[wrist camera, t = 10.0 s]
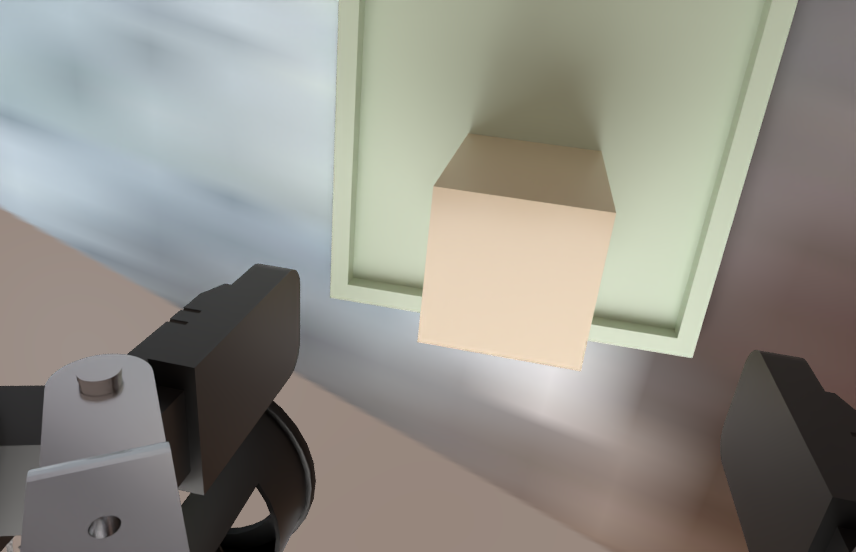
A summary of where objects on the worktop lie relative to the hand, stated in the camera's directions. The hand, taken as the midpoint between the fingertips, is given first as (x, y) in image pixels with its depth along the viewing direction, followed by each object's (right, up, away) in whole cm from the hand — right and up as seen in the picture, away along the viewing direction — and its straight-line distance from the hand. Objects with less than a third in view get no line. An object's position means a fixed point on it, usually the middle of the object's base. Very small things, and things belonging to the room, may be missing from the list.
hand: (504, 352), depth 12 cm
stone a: (+2, +4, +9) cm, 10 cm away
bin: (+2, +6, +8) cm, 10 cm away
